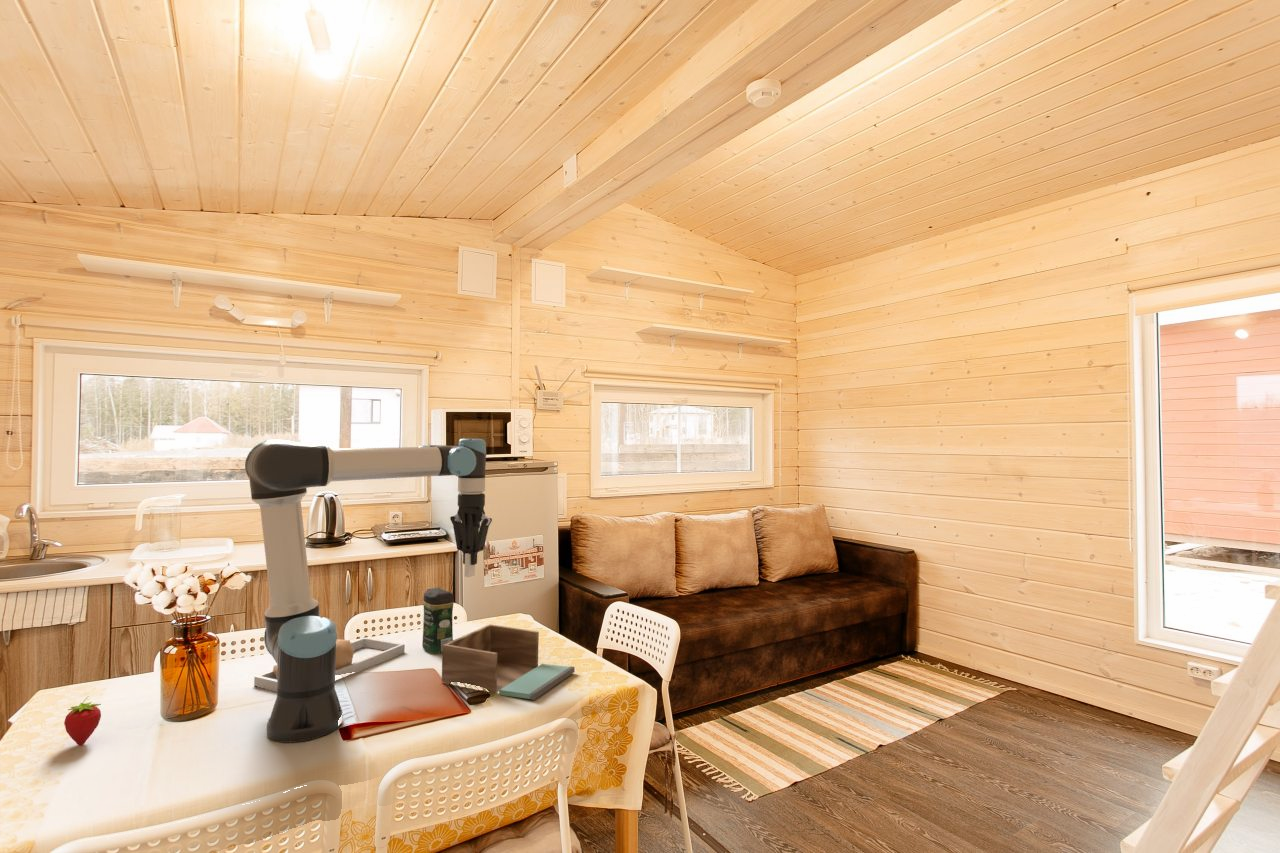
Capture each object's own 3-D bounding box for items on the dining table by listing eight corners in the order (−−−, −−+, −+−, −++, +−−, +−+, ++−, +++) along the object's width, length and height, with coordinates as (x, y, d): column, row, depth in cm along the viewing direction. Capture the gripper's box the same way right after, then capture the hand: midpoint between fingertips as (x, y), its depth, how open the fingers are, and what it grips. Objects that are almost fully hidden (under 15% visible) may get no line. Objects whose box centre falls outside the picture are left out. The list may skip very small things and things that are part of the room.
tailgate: (499, 695, 163) (534, 699, 159) (499, 689, 163) (533, 694, 159) (542, 668, 183) (574, 672, 179) (542, 663, 183) (574, 666, 179)
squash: (360, 673, 180) (358, 643, 178) (280, 699, 167) (277, 667, 166) (349, 656, 188) (347, 627, 186) (271, 679, 176) (269, 649, 174)
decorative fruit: (100, 734, 141) (101, 687, 141) (100, 747, 135) (102, 698, 135) (63, 741, 137) (65, 694, 137) (62, 755, 131) (64, 706, 131)
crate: (494, 697, 164) (495, 654, 164) (441, 687, 170) (442, 645, 170) (537, 670, 183) (538, 631, 183) (489, 662, 190) (490, 624, 190)
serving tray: (298, 696, 162) (298, 686, 162) (254, 686, 168) (254, 676, 169) (404, 652, 197) (404, 644, 197) (364, 645, 203) (364, 637, 203)
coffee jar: (418, 648, 201) (419, 588, 201) (442, 643, 206) (443, 584, 206) (431, 656, 194) (433, 594, 194) (456, 650, 199) (457, 590, 199)
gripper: (498, 492, 185) (496, 575, 185) (461, 490, 190) (459, 571, 190) (482, 494, 178) (480, 580, 178) (444, 492, 183) (442, 576, 183)
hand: (469, 575), depth 184 cm, fingers closed
